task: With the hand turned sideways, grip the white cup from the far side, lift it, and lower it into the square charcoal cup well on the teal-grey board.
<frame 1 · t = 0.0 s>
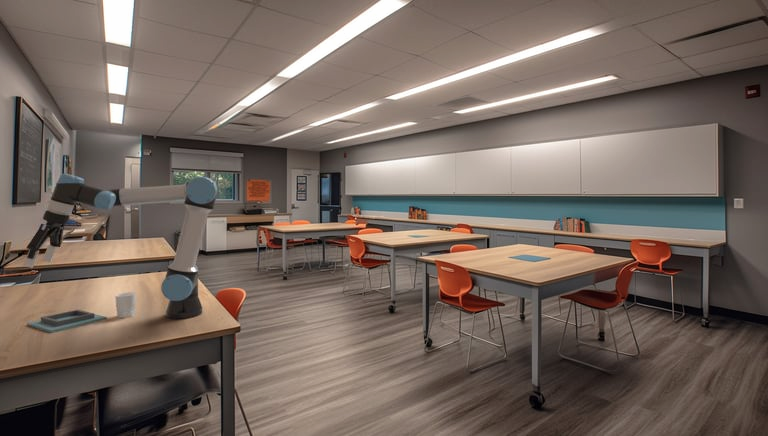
hand: (37, 264, 145), 28 cm above the table, tool tilted 20°, fingers open, 13 cm apart
glass holder: (68, 322, 162), on the table
white cup: (126, 316, 172), on the table
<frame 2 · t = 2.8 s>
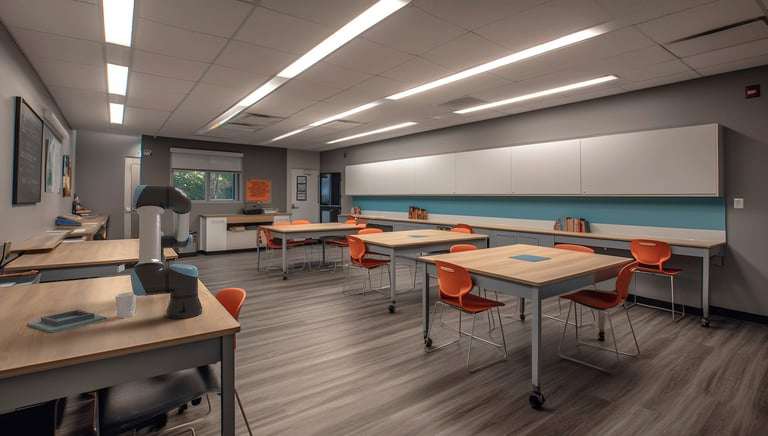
hand: (133, 269, 180), 20 cm above the table, tool horizontal, fingers open, 13 cm apart
nothing on the table moved.
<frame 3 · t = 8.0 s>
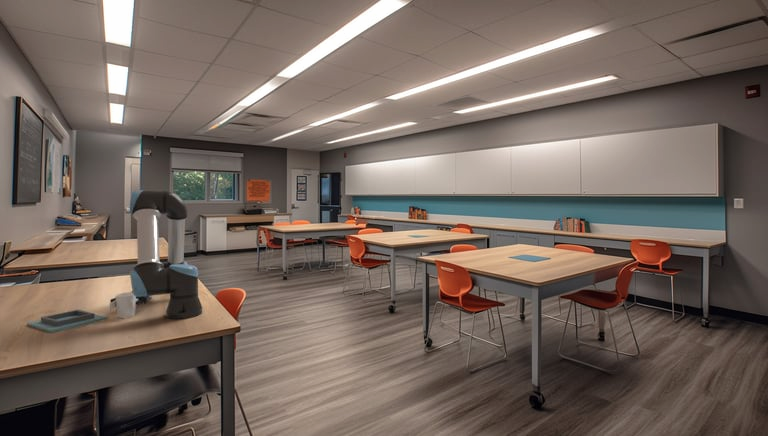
hand: (121, 305, 167), 6 cm above the table, tool horizontal, fingers closed on white cup, 7 cm apart
white cup: (126, 316, 172), on the table, touching gripper
when the fingers open (8 cm above the table, at t = 13.7 s): white cup drops 1 cm, resting on glass holder.
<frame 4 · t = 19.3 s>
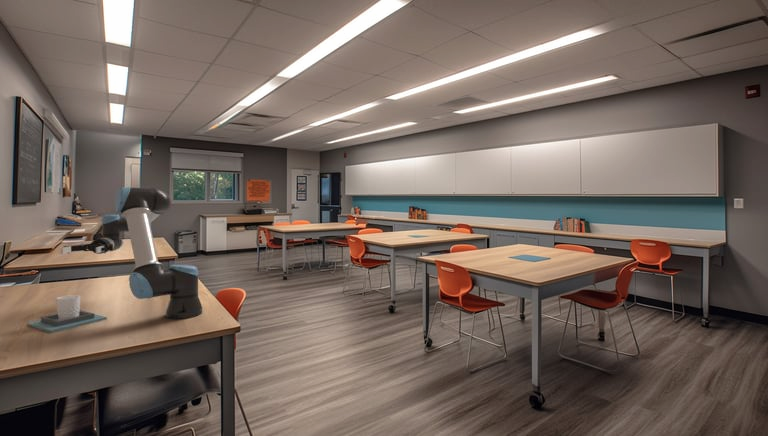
hand: (79, 250, 170), 30 cm above the table, tool horizontal, fingers open, 13 cm apart
white cup: (69, 320, 162), point 1 cm above the table, touching glass holder
at the end: white cup 0.3 cm off-centre on the glass holder, point 0.8 cm above the glass holder's base; white cup tilted 0°; the gripper is holding nothing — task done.
